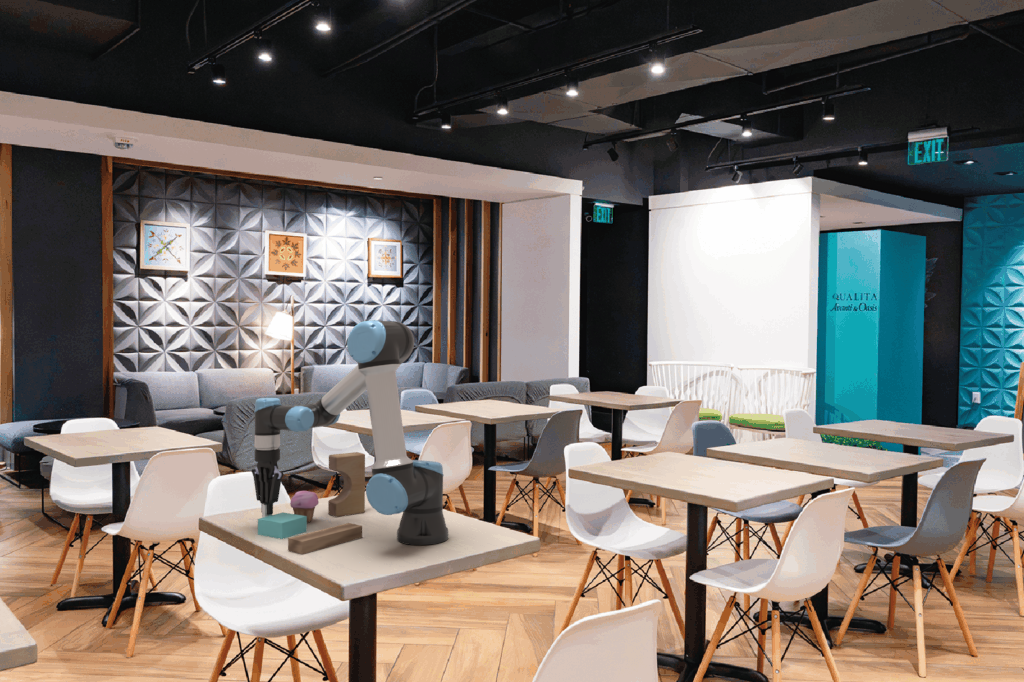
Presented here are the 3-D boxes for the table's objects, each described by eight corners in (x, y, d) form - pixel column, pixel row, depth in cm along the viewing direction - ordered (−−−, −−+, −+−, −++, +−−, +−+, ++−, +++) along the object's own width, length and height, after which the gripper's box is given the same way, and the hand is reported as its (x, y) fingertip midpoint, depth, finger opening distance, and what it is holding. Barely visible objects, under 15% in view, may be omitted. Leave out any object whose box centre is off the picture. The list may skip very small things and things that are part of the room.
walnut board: (362, 537, 224) (362, 525, 224) (302, 554, 207) (302, 541, 207) (348, 534, 228) (348, 522, 228) (288, 550, 210) (288, 538, 210)
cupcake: (294, 518, 247) (294, 488, 247) (320, 518, 248) (321, 488, 248) (287, 525, 238) (287, 493, 238) (314, 525, 239) (315, 493, 239)
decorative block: (334, 517, 249) (335, 456, 249) (327, 514, 254) (328, 454, 254) (365, 513, 256) (365, 453, 256) (357, 509, 261) (358, 451, 260)
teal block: (306, 532, 231) (306, 516, 231) (281, 540, 222) (281, 523, 222) (282, 528, 236) (282, 512, 236) (257, 535, 227) (257, 518, 227)
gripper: (290, 448, 233) (290, 525, 233) (264, 445, 240) (264, 519, 240) (270, 451, 227) (269, 530, 227) (244, 447, 234) (243, 523, 234)
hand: (267, 524), depth 234 cm, fingers closed
